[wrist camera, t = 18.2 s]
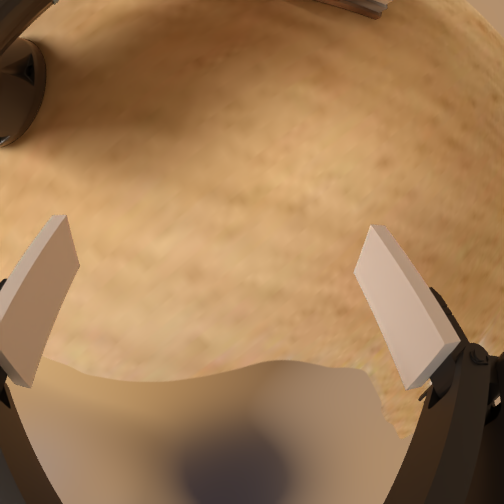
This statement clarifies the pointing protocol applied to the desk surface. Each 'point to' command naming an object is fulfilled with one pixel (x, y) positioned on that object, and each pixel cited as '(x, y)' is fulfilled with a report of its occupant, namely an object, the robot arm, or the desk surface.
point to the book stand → (361, 6)
